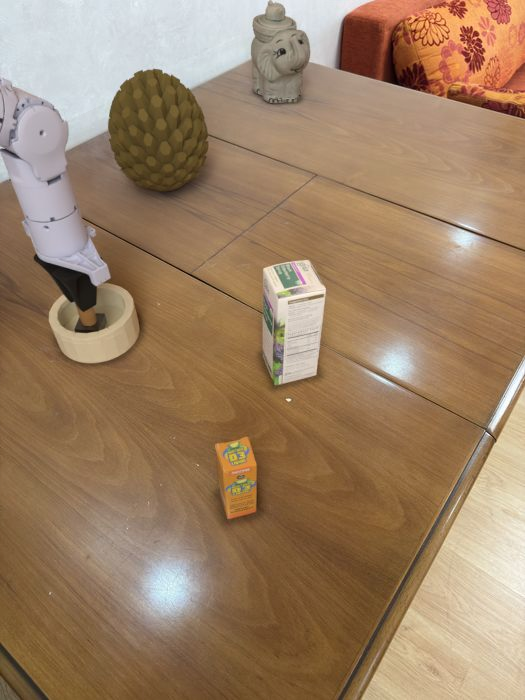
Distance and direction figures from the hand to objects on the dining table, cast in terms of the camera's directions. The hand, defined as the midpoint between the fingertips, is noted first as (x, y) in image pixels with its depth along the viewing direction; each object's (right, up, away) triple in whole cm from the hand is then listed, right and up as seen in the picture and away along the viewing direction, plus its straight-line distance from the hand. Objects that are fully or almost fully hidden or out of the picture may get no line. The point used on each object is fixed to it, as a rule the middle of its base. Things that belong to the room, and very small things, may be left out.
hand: (82, 302), depth 67 cm
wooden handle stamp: (0, -3, +4) cm, 5 cm away
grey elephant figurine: (+27, +53, +59) cm, 84 cm away
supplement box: (+20, -22, -12) cm, 32 cm away
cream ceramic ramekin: (0, -4, +5) cm, 7 cm away
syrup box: (+26, -8, +1) cm, 27 cm away
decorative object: (+5, +24, +32) cm, 41 cm away
